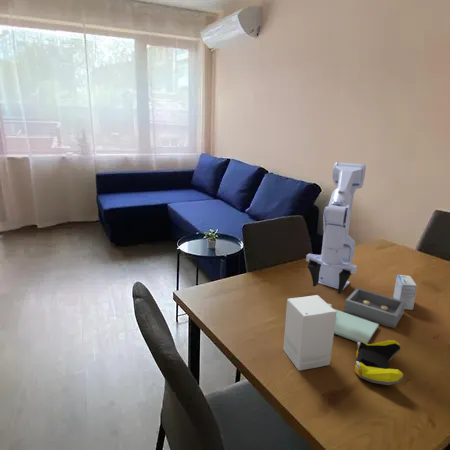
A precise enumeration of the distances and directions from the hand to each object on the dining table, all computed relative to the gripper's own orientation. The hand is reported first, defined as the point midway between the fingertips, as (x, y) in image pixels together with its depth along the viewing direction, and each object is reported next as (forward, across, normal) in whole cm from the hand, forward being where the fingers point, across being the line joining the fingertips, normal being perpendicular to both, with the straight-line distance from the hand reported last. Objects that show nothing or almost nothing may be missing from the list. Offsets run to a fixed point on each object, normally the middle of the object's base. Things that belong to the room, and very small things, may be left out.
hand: (327, 288), depth 109 cm
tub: (+9, +11, +12) cm, 19 cm away
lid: (+10, +7, -2) cm, 12 cm away
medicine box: (+10, +17, +24) cm, 31 cm away
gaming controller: (+10, +20, -16) cm, 27 cm away
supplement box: (+9, +4, -22) cm, 24 cm away
